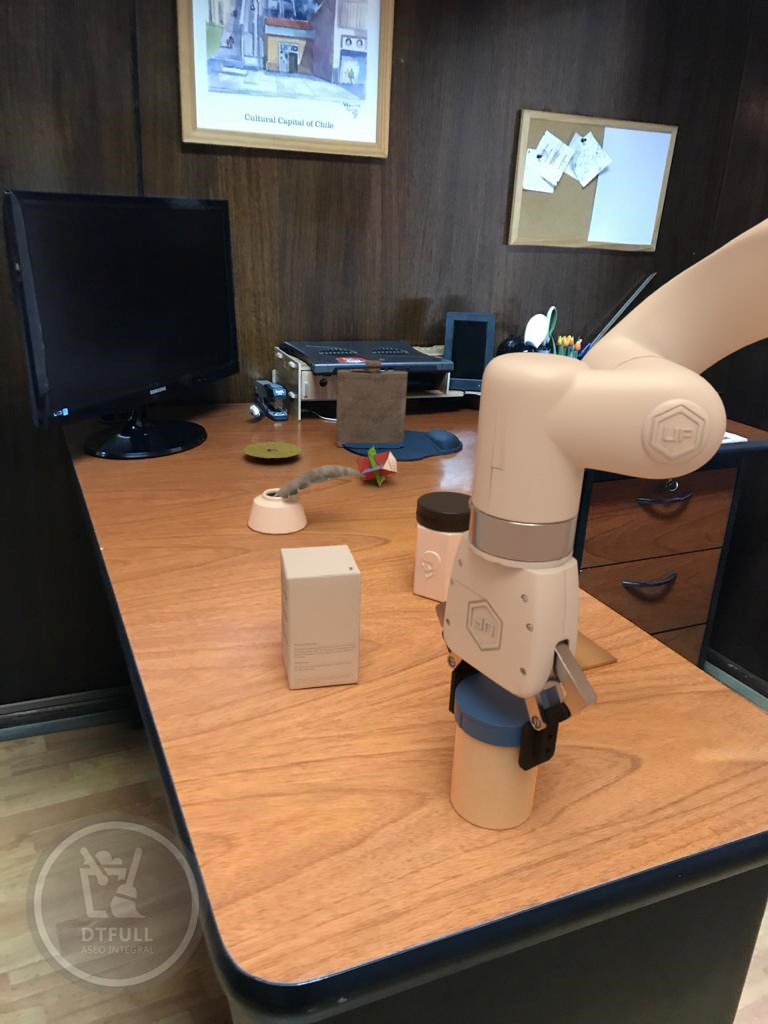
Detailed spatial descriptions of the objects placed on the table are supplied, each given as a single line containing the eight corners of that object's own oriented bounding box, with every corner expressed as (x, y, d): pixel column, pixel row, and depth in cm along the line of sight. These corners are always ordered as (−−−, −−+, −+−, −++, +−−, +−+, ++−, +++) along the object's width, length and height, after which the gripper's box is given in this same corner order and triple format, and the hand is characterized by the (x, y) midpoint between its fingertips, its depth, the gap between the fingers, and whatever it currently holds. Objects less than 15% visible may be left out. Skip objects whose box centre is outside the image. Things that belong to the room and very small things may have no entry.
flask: (405, 449, 162) (409, 363, 155) (336, 448, 160) (338, 361, 153) (402, 444, 165) (407, 360, 159) (335, 444, 163) (337, 358, 157)
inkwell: (251, 512, 124) (250, 452, 120) (363, 515, 124) (366, 456, 121) (243, 534, 115) (241, 470, 111) (364, 537, 116) (366, 474, 112)
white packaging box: (347, 647, 86) (349, 543, 81) (359, 685, 79) (363, 572, 75) (280, 653, 84) (279, 546, 80) (286, 691, 77) (286, 577, 73)
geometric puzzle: (342, 473, 138) (369, 441, 134) (354, 462, 144) (380, 432, 140) (372, 500, 138) (400, 469, 134) (382, 488, 144) (409, 458, 141)
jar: (397, 590, 100) (401, 503, 95) (427, 568, 106) (432, 486, 102) (459, 609, 95) (467, 518, 91) (487, 585, 102) (495, 500, 98)
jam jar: (502, 764, 68) (513, 670, 65) (549, 815, 63) (564, 715, 59) (435, 784, 65) (443, 688, 62) (478, 840, 60) (489, 737, 56)
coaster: (560, 620, 94) (560, 618, 94) (617, 661, 85) (617, 658, 85) (491, 636, 90) (491, 633, 89) (543, 680, 81) (543, 677, 81)
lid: (484, 758, 56) (486, 736, 56) (436, 702, 63) (437, 682, 62) (568, 733, 60) (571, 712, 59) (514, 682, 66) (516, 663, 65)
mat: (312, 456, 154) (312, 447, 153) (279, 470, 144) (279, 460, 144) (265, 447, 159) (265, 438, 158) (231, 460, 149) (231, 451, 148)
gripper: (407, 501, 60) (397, 695, 66) (578, 587, 47) (545, 819, 53) (480, 486, 64) (463, 670, 70) (656, 562, 51) (616, 780, 57)
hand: (498, 733), depth 62 cm, fingers closed on lid, 7 cm apart
